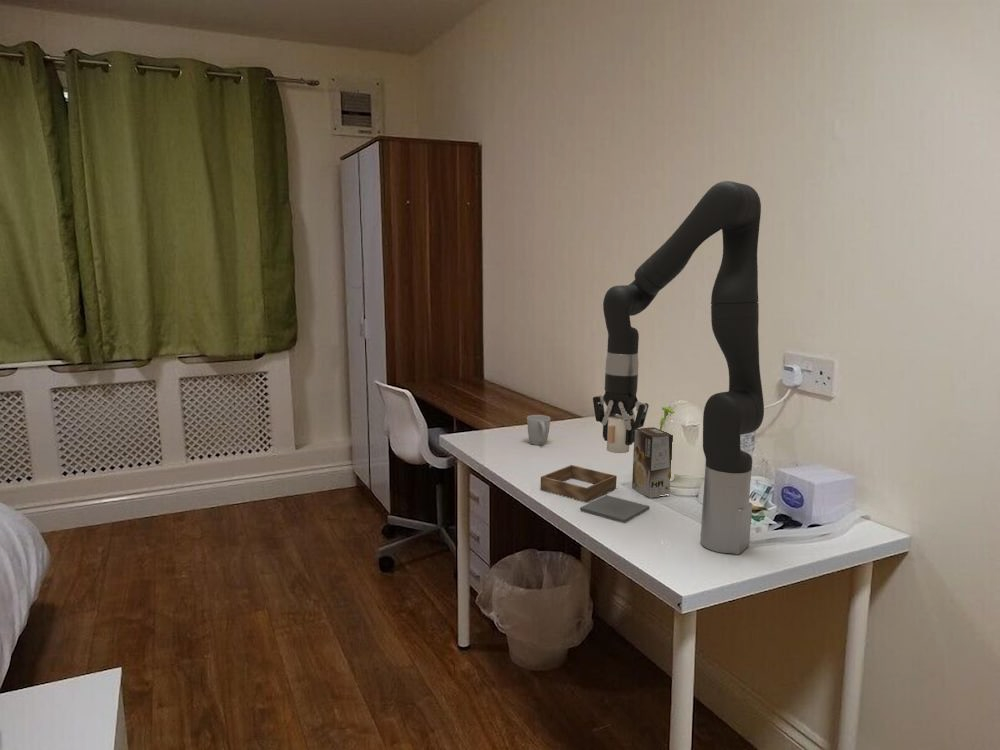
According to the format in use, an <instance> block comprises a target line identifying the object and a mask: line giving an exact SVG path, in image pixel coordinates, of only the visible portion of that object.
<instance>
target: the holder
mask: <svg viewBox="0 0 1000 750" xmlns="http://www.w3.org/2000/svg"><path fill="white" fill-rule="evenodd" d="M570 478H571V479H573V480H577V479H578V480H577V481H581V482H586V483H589V484H592V485H590V486H587V487H585V486H580V485H577V484H575V483H569V482H565V481H569V480H571V479H570ZM563 481H564V482H563ZM539 487H540V491H543V490H544V491H543V492H547V491H548V492H547V493H550V492H552V493H551V494H554V493H555V495H558V494H559V496H561V495H563V496H562V497H565V496H567V497H566V498H569V497H570V499H572V498H574V499H573V500H576V499H577V500H576V501H580V500H581V501H580V502H583V501H584V502H583V503H588V502H589V503H590V502H592V501H594V500H596V499H598V498H600V497H602V496H605V494H606V495H607V494H608V493H610V492H612V491H614V490H616V489H617V475H615V474H611V473H606V472H604V471H603V472H601V471H599V470H594V469H589V468H586V467H581V466H577V465H573V464H570V465H568V466H567V465H566V466H565V467H563V468H560V469H557V470H555V471H552V472H550V473H548V474H545V475H542V476H540V485H539Z"/></svg>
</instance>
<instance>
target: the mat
mask: <svg viewBox="0 0 1000 750" xmlns="http://www.w3.org/2000/svg"><path fill="white" fill-rule="evenodd" d="M580 510H581V511H580ZM649 510H650V505H648V504H643V503H638V502H635V501H631V500H627V499H623V498H620V497H616V496H612V495H608V494H606V495H605V494H604V495H602V496H600V497H598V498H596V499H594V500H592V501H590V502H589V503H587V504H585V505H583V506H580V508H579V511H580V512H583V511H584V513H587V514H591V515H594V516H598V517H601V518H605V519H609V520H612V521H615V522H619V523H622V524H626V523H627V522H629V521H631V520H633V519H635V518H636V517H638V516H640V515H641V514H644V513H645V512H647V511H649Z"/></svg>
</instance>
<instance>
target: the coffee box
mask: <svg viewBox="0 0 1000 750" xmlns="http://www.w3.org/2000/svg"><path fill="white" fill-rule="evenodd" d="M672 442H673V435H671V434H669V433H667V432H664V431H662V430H660V428H657V427H652V426H651V427H640V428H638V429H636V430H635V441H634V442H633V456H632V461H633V462H632V477H631V478H632V480H631V488H632V489H633V488H634V489H633V490H635V491H638V492H639V493H641V495H644V496H646V497H647V498H650V499H652V498H654V497H655V498H659V497H658V496H660V495H665V494H671V482H670V478H671V460H672ZM655 498H654V499H655Z"/></svg>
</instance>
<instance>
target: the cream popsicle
mask: <svg viewBox="0 0 1000 750" xmlns="http://www.w3.org/2000/svg"><path fill="white" fill-rule="evenodd" d="M626 430H628V429H627V427H626V421H624V420H623V417H622V416H621V415H619V414H616V415H613V416H610V417H608V433H607V441H606V450H607V451H608V452H609V453H614V454H627V453H629V452H630V445H629V446H628V445H626Z"/></svg>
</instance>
